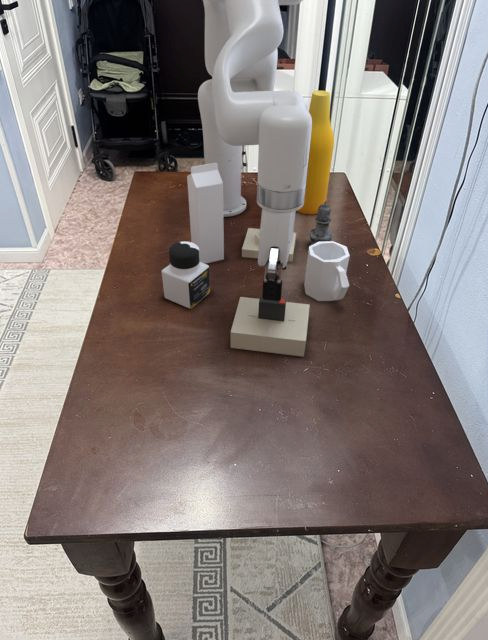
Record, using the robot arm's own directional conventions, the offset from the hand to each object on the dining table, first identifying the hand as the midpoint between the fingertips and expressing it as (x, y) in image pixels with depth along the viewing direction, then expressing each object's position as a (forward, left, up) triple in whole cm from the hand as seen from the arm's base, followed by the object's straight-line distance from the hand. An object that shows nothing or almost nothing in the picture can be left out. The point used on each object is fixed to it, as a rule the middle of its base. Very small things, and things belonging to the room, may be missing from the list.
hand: (274, 283), depth 89 cm
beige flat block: (0, 0, -12) cm, 12 cm away
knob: (0, 0, -8) cm, 8 cm away
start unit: (-4, +31, -12) cm, 34 cm away
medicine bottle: (-19, +9, -12) cm, 24 cm away
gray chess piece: (+8, +34, -12) cm, 37 cm away
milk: (-18, +25, -12) cm, 33 cm away
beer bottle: (+4, +54, -12) cm, 56 cm away
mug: (+11, +15, -12) cm, 22 cm away
